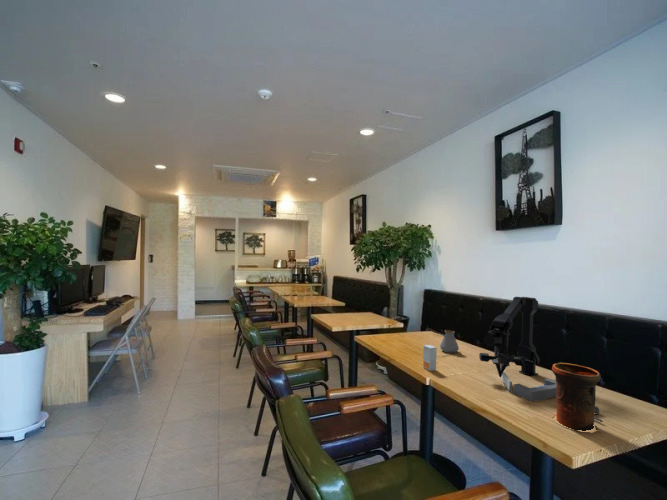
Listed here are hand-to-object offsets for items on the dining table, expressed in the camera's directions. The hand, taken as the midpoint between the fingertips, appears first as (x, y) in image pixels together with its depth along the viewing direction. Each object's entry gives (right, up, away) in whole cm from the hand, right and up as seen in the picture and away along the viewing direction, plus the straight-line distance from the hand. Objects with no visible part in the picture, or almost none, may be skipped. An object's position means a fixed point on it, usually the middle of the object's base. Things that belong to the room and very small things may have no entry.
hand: (500, 376), depth 164 cm
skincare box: (-30, -2, +16) cm, 34 cm away
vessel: (+7, -2, -42) cm, 42 cm away
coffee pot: (-12, -3, +51) cm, 53 cm away
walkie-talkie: (+18, -3, -31) cm, 36 cm away
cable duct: (+11, -2, -14) cm, 18 cm away
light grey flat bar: (+1, -2, -3) cm, 4 cm away
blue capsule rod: (+10, -2, -14) cm, 17 cm away
